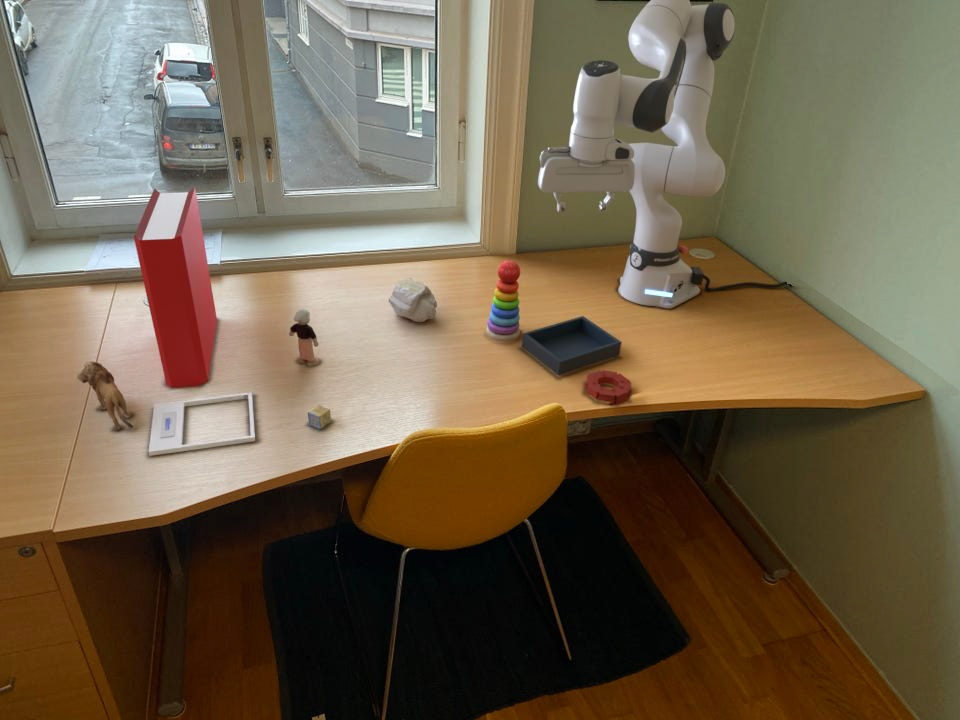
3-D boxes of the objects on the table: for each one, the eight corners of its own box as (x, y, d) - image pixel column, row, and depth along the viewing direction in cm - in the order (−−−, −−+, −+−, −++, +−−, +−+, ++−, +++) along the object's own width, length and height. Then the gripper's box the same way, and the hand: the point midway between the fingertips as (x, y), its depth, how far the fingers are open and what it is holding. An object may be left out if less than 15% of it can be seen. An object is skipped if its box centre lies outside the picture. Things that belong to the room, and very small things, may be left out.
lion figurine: (82, 403, 141) (70, 364, 136) (109, 392, 144) (98, 353, 139) (120, 436, 133) (109, 396, 128) (148, 423, 136) (138, 383, 132)
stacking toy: (516, 346, 167) (523, 272, 157) (482, 341, 168) (487, 267, 158) (522, 329, 173) (528, 257, 163) (489, 324, 175) (494, 252, 165)
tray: (580, 331, 174) (582, 315, 172) (618, 357, 165) (621, 341, 163) (521, 349, 166) (522, 333, 164) (557, 378, 156) (559, 362, 154)
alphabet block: (308, 424, 139) (307, 411, 137) (319, 416, 141) (318, 403, 139) (320, 430, 137) (319, 417, 136) (331, 422, 140) (330, 409, 138)
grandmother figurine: (326, 360, 158) (323, 308, 151) (317, 369, 155) (313, 317, 148) (295, 352, 160) (290, 301, 153) (286, 361, 157) (280, 309, 150)
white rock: (430, 330, 171) (441, 314, 180) (434, 298, 167) (445, 283, 176) (381, 319, 173) (394, 303, 181) (384, 287, 169) (397, 272, 177)
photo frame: (154, 403, 140) (251, 391, 144) (155, 408, 140) (252, 396, 145) (148, 450, 128) (254, 436, 133) (149, 455, 129) (255, 441, 133)
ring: (608, 375, 158) (610, 366, 157) (638, 397, 152) (640, 387, 151) (576, 387, 154) (577, 377, 153) (605, 409, 148) (606, 400, 146)
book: (180, 322, 168) (154, 188, 151) (217, 319, 170) (194, 187, 153) (165, 388, 146) (132, 240, 129) (207, 385, 148) (180, 238, 131)
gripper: (544, 151, 145) (538, 217, 152) (642, 151, 148) (631, 215, 156) (537, 142, 150) (531, 205, 158) (631, 142, 153) (621, 204, 161)
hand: (582, 210), depth 157 cm, fingers open, 8 cm apart
